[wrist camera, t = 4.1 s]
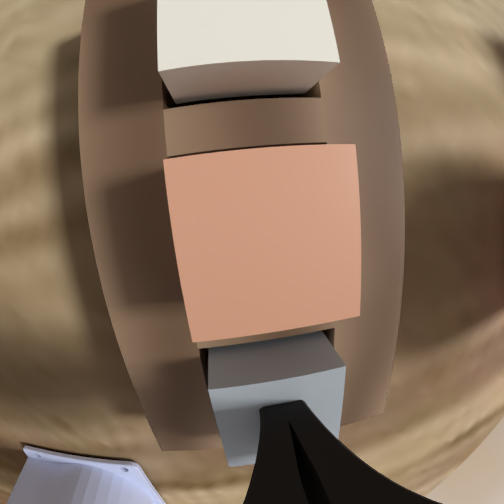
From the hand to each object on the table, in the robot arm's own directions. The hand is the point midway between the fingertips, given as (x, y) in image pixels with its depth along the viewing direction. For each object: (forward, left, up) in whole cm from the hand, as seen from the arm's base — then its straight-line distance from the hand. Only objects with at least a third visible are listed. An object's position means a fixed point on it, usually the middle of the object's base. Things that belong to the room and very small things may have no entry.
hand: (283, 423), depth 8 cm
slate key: (0, 0, -3) cm, 3 cm away
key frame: (0, +6, -4) cm, 7 cm away
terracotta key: (0, +6, -2) cm, 6 cm away
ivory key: (0, +12, -2) cm, 12 cm away
